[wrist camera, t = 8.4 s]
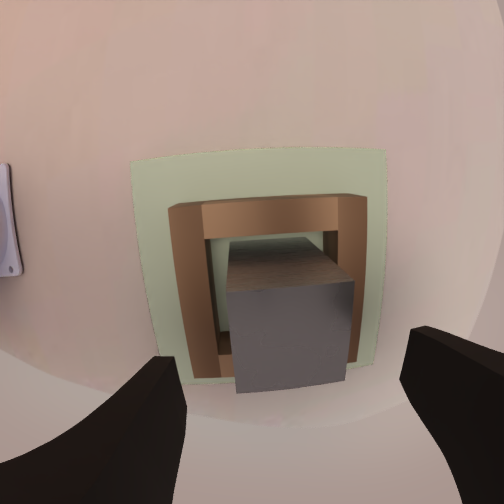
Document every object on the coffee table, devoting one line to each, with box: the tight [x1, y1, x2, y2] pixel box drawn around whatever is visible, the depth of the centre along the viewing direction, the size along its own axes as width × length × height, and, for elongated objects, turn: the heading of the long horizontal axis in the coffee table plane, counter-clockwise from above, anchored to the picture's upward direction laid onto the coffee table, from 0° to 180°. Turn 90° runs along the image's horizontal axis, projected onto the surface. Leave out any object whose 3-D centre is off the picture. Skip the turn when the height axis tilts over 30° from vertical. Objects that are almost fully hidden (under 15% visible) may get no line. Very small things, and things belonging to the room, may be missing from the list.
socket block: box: [130, 147, 387, 385], centre depth 15 cm, size 14×14×4 cm
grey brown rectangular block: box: [226, 237, 355, 393], centre depth 13 cm, size 4×4×7 cm
